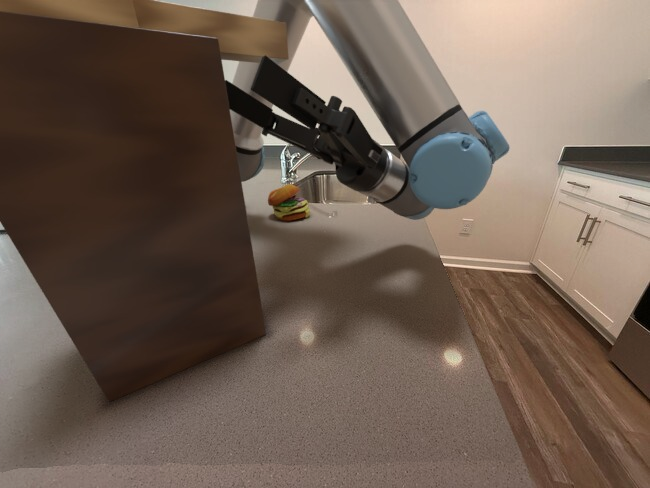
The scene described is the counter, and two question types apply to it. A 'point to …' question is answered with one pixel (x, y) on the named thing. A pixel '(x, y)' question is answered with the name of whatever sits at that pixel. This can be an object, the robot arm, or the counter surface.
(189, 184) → the stand
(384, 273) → the counter surface
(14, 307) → the counter surface
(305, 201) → the cheeseburger
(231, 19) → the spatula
